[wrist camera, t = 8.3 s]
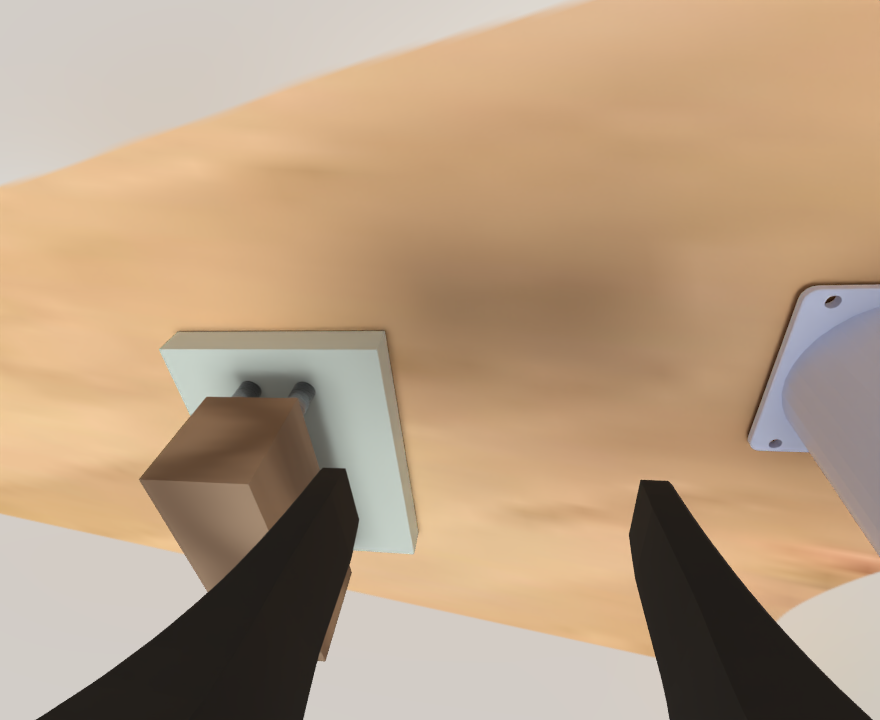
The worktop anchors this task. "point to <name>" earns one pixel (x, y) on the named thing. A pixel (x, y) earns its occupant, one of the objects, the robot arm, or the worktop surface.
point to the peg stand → (318, 409)
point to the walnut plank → (233, 482)
